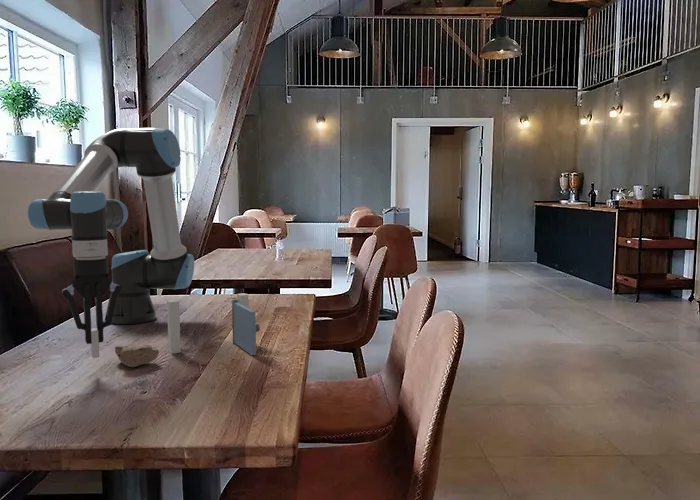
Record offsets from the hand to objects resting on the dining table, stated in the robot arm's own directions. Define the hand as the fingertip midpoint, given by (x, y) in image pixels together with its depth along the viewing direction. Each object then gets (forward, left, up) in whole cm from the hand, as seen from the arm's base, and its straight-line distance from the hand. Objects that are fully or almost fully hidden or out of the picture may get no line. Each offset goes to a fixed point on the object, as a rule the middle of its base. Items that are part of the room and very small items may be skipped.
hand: (95, 356), depth 137 cm
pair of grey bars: (-10, +28, -4) cm, 30 cm away
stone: (0, +11, -5) cm, 12 cm away
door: (-10, +38, -4) cm, 40 cm away
